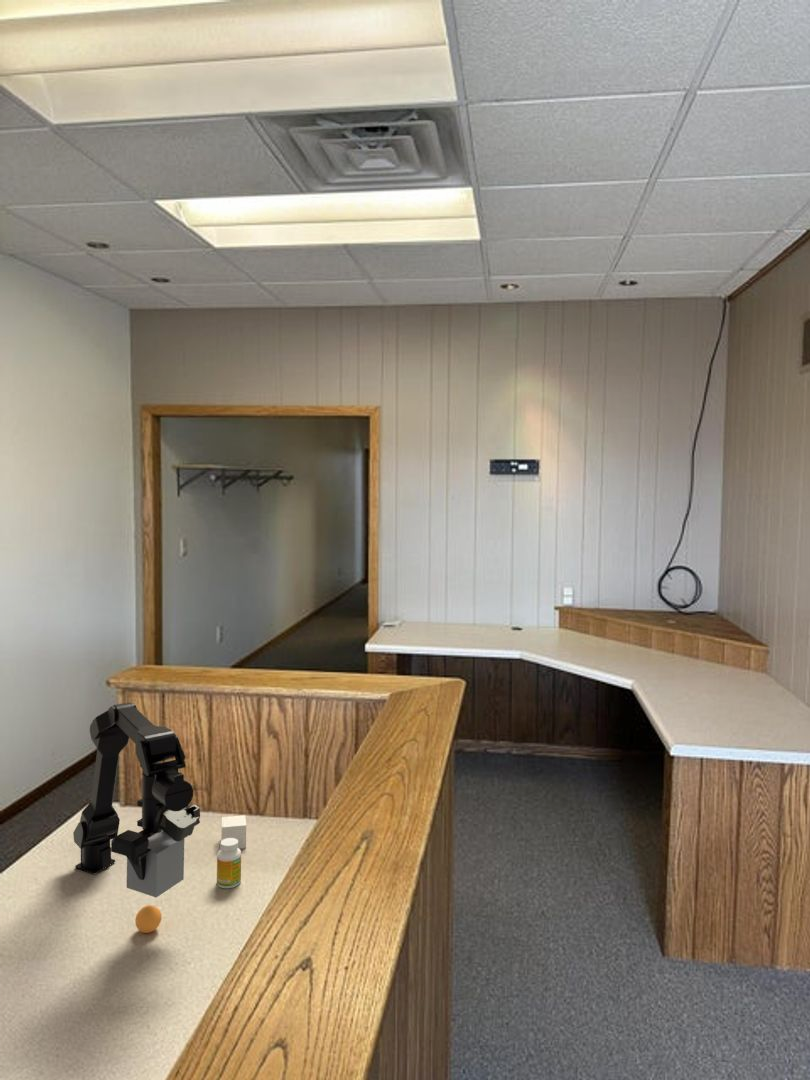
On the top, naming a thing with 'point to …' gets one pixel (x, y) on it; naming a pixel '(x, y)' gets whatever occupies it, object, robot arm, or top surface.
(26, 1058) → the top surface
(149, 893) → the grey upright block
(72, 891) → the top surface
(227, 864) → the supplement bottle
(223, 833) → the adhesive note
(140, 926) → the ball
